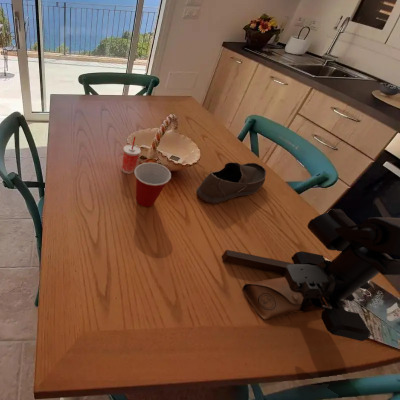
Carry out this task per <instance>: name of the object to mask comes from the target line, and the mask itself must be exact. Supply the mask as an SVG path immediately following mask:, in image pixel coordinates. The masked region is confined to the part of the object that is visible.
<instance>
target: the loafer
mask: <svg viewBox="0 0 400 400" xmlns="http://www.w3.org/2000/svg"><path fill="white" fill-rule="evenodd" d="M266 176H267V170H266V168H265V167H264V166H263V165H261V164H259V163H257V162H247V163H244V164H241V163H239V162H232V161H229V162H226V163H225V164H224V167H223V168H222V169H220V170H215V171H210V172H209V174H207V175H206V176H205V178H204V179H203V180H202V182H201V183H200V186H198V188H196V191H195V192H196V195H197V196H198V197H199V198H200V199H201V200H203V201H204V202H206V203H209V204H219V203H223V202H225V201H226V202H227V201H229V200H231V199H234V198H237V197H245V196H251V195H254V194H255V193H257V192H258V191H259V190H261V188H262V187H263V185H264V183H265V181H266Z"/></svg>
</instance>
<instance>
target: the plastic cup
mask: <svg viewBox="0 0 400 400" xmlns="http://www.w3.org/2000/svg"><path fill="white" fill-rule="evenodd" d="M133 174H134V176H135V181H136V183H135V184H136V185H135V193H136V195H135V202H136V203H137V204H138V205H139V206H141V207H143V208H144V207H145V208H150V207H152V206H153V205H154V204H155V202H156V201H157V199H158V198H159V196H160V194H161V193H162V191H163V189H164V188H165V186H166V184H167V183H168V182H169V181H170V180H171V178H172V173H171V171H170V170H169V168H167V167H166V166H164V164H160V163H157V162H149V161H148V162H143V163H141V164H138V165H137V166H135V169H134V172H133Z"/></svg>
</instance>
